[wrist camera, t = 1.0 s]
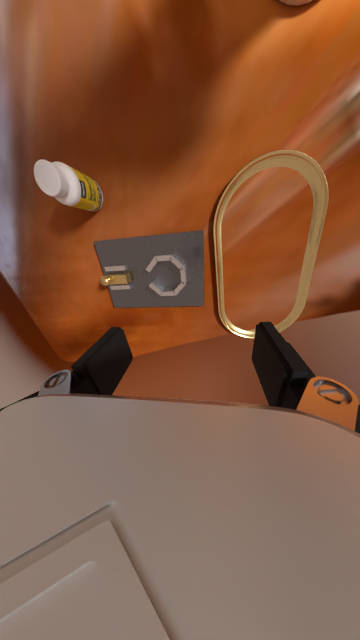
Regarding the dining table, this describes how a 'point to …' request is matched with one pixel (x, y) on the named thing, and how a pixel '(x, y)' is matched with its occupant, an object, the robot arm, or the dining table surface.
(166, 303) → the dock
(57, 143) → the dining table surface
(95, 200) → the supplement bottle
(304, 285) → the gold oval ring
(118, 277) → the bolt
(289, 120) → the dining table surface
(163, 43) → the dining table surface
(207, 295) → the dining table surface
